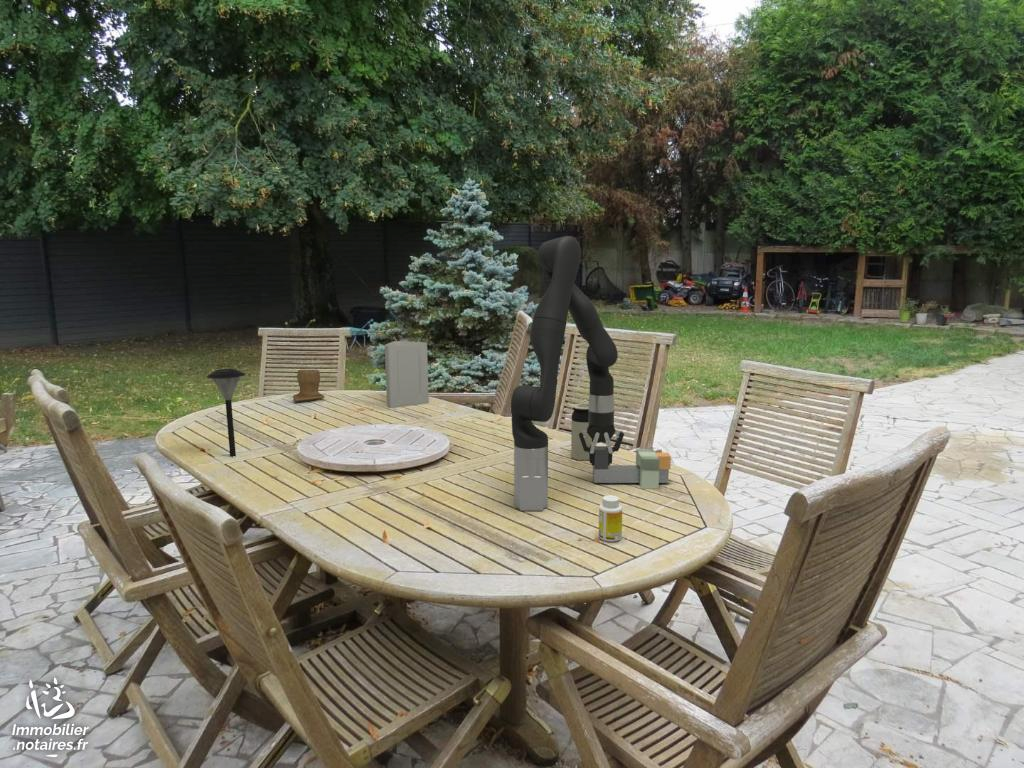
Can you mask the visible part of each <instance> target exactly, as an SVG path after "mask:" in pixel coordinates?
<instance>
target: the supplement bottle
mask: <svg viewBox="0 0 1024 768" xmlns="http://www.w3.org/2000/svg"><path fill="white" fill-rule="evenodd" d="M601 502H602V503H601V504H600V505H599V506H598V537H599V539H601V540H602V541H603V542H609V543H611V542H613V543H615V542H618V541H620V540H621V539H622V535H623V534H622V533H623V530H622V529H623V506H622V505H621V504H620V497H618V496H616V495H610V494H609V495H604V496H603V497H602V500H601Z"/></svg>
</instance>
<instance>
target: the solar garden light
mask: <svg viewBox="0 0 1024 768" xmlns="http://www.w3.org/2000/svg"><path fill="white" fill-rule="evenodd" d="M245 375H246V373H245V372H242V371H241V370H238V369H236V368H221V369H217V370H214V371H212V372H211V373H210V374H209V375H207V376H206V378H208V379H212V381H213V382H214V383H215V385H216V387H217V388H218V390H219V392H220V393H221V396H222V397H223V399H224V400H225V401H224V402H225V410H226V411H225V412H226V414H225V415H226V424H227V437H228V449H229V457H230V456H235V457H236V456H237V454H236V453H237V452H236V441H235V430H234V429H235V428H234V417H233V406H232V405H233V404H232V399H233V396H234V393H235V390H236V388H237V385H238V384H239V380H240V378H241V377H244V376H245Z"/></svg>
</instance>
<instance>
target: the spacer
mask: <svg viewBox="0 0 1024 768" xmlns="http://www.w3.org/2000/svg"><path fill="white" fill-rule="evenodd" d="M655 453H656V455H657V456H658V458H659V459H660V460H659V469H669V470H671V461H672V458H671V457H672V456H671V455H670V453H669V452H655Z"/></svg>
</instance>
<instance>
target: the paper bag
mask: <svg viewBox="0 0 1024 768" xmlns="http://www.w3.org/2000/svg"><path fill="white" fill-rule="evenodd" d="M428 361H429V360H428V342H423V341H402V340H398V341H397V340H396V341H394V340H393V341H391V342H389V343H387V344H384V363H385V385H386V386H385V389H386V392H385V393H386V406H387V407H388V408H390V409H394V408H402V407H408V406H409V407H410V406H411V407H412V406H418V405H426V404H429V395H430V394H429V365H428V363H429V362H428Z"/></svg>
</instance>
